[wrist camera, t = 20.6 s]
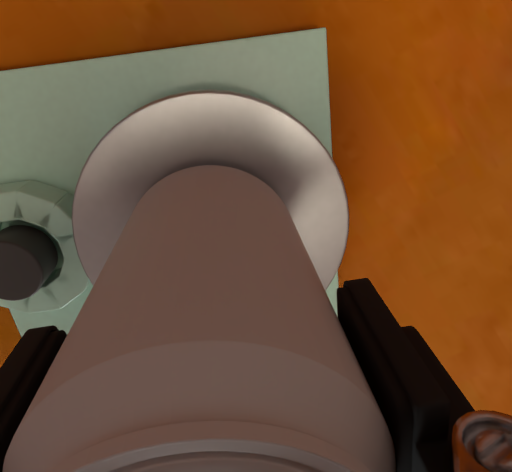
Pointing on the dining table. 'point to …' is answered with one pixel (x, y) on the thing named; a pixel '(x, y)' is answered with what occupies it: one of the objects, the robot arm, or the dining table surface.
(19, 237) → the button
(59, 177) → the scale
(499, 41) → the dining table surface
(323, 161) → the scale pan
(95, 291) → the beverage can
